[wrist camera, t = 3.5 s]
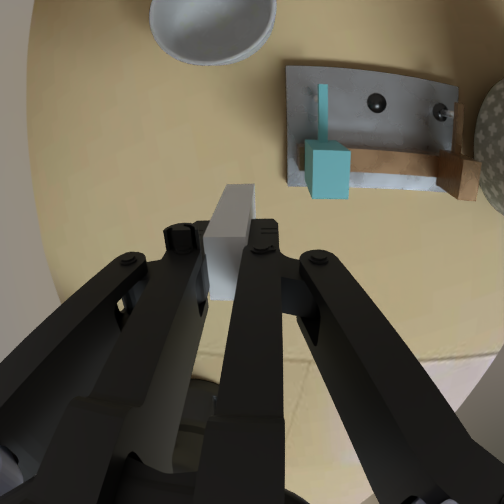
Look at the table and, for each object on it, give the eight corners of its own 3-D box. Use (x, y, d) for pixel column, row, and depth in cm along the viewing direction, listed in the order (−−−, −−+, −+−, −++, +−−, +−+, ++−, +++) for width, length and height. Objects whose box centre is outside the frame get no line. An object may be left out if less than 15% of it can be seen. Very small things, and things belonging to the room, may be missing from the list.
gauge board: (287, 183, 35) (292, 210, 27) (285, 66, 28) (290, 56, 21) (445, 189, 33) (481, 215, 26) (453, 86, 27) (496, 90, 20)
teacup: (293, 43, 27) (301, 27, 20) (202, 89, 30) (183, 88, 23) (229, -49, 22) (219, -81, 15) (144, -2, 25) (113, -22, 18)
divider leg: (302, 174, 32) (312, 198, 25) (301, 85, 28) (312, 81, 21) (330, 174, 32) (348, 199, 25) (331, 86, 28) (352, 83, 20)
